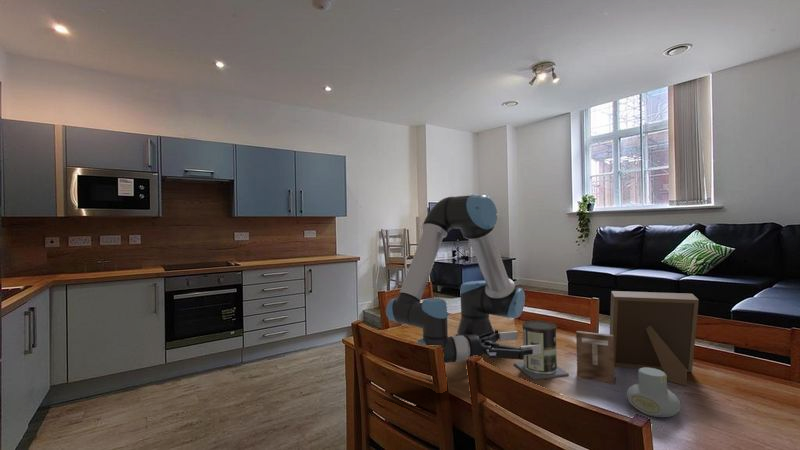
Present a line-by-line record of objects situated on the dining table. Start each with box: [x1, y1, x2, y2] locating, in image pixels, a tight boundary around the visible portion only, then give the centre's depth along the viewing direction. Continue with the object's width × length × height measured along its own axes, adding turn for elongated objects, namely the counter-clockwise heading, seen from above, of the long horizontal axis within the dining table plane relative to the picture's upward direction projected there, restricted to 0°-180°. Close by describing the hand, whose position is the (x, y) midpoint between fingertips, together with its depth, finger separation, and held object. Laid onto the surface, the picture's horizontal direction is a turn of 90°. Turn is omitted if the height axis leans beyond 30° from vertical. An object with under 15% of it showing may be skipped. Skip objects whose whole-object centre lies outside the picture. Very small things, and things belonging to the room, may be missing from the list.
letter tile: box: [575, 330, 616, 385], centre depth 109 cm, size 10×5×14 cm, turn 60°
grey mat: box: [513, 361, 570, 380], centre depth 116 cm, size 12×12×1 cm
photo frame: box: [609, 290, 700, 386], centre depth 111 cm, size 15×22×25 cm
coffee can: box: [521, 320, 558, 374], centre depth 116 cm, size 10×10×14 cm
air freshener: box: [626, 367, 681, 418], centre depth 89 cm, size 11×8×10 cm
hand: (528, 341), depth 114 cm, fingers open, 13 cm apart
